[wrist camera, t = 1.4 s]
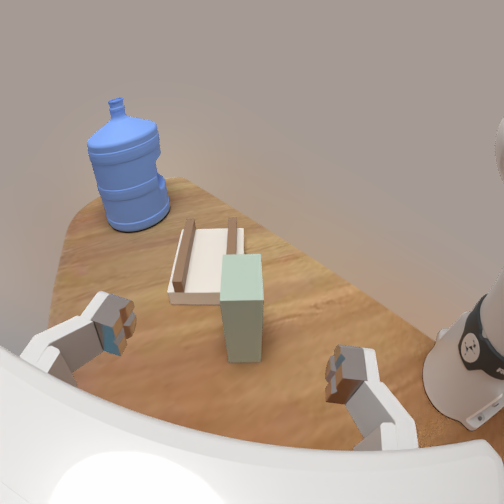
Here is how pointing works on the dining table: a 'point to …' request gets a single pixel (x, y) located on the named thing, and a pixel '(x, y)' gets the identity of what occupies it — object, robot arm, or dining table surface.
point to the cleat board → (202, 262)
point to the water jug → (128, 170)
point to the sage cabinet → (242, 306)
